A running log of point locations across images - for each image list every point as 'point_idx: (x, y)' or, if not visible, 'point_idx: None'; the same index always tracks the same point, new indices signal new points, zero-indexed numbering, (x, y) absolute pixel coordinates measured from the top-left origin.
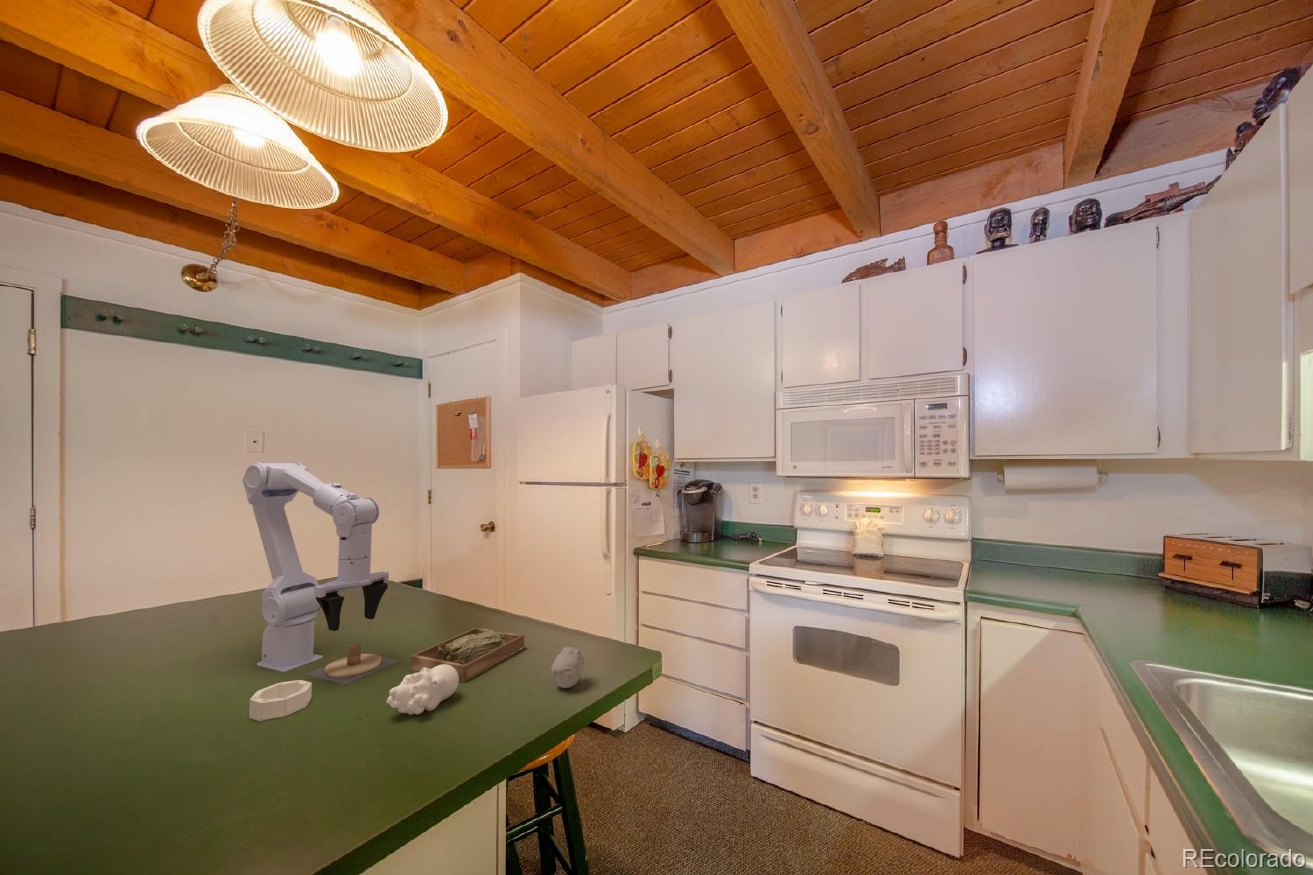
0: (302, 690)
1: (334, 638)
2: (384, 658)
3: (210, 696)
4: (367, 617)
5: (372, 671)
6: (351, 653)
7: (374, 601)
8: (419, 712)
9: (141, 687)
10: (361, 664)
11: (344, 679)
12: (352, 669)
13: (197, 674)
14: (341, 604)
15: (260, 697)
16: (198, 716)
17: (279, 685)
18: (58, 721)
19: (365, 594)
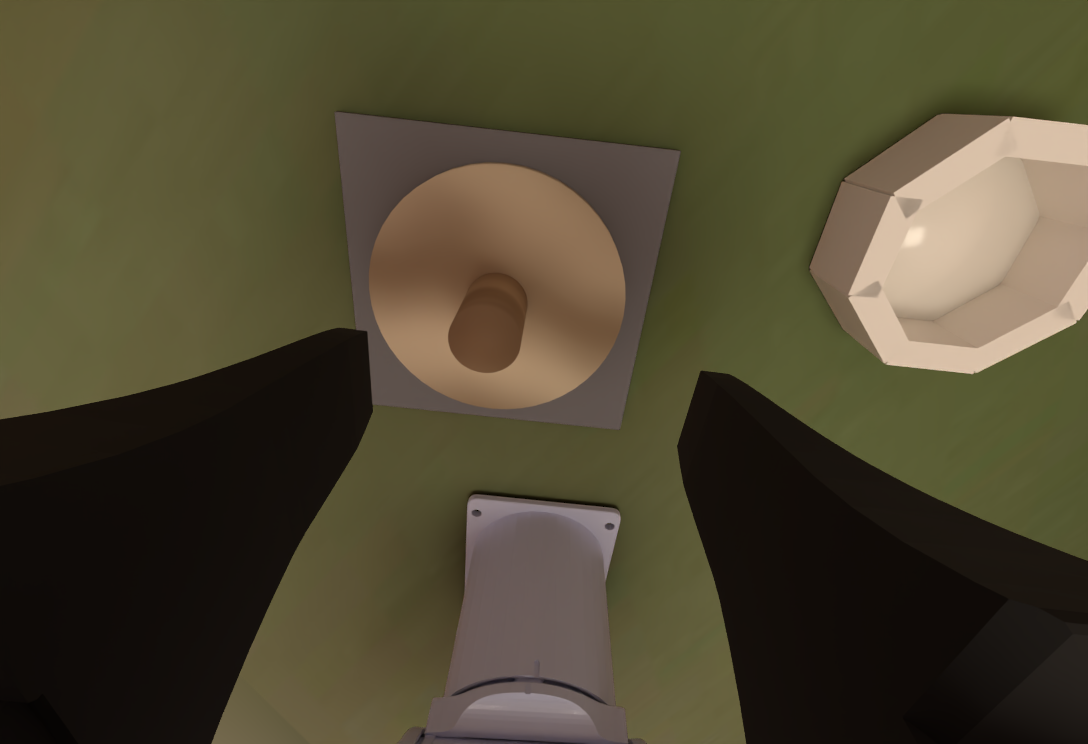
0: (999, 149)
1: (317, 597)
2: (357, 230)
3: None
4: (366, 390)
5: (507, 144)
6: (518, 315)
7: (252, 415)
8: None
9: None
10: (495, 249)
11: (631, 208)
12: (560, 240)
13: (677, 684)
14: (889, 518)
15: (1005, 320)
16: (966, 464)
17: (907, 337)
18: None
19: (242, 625)
